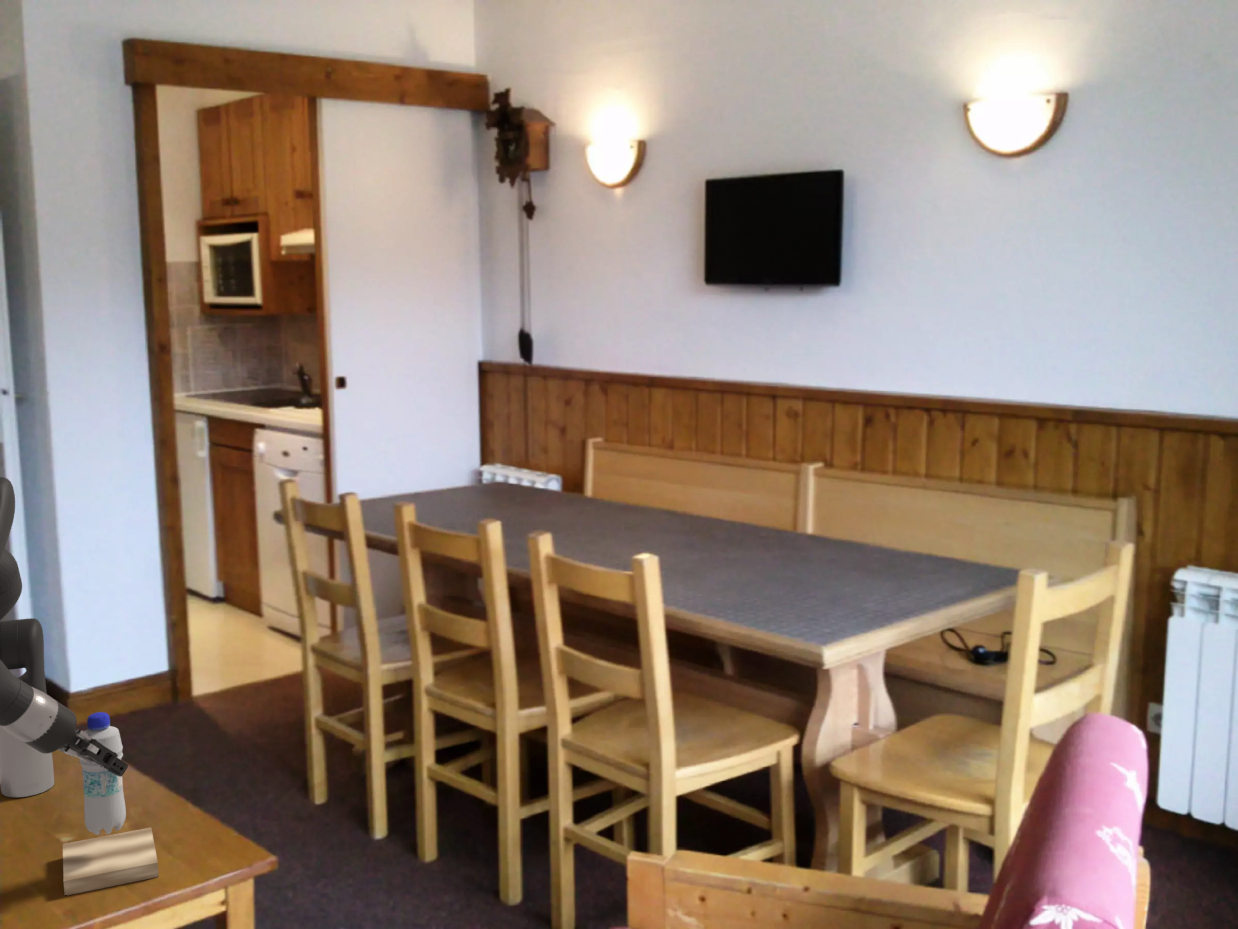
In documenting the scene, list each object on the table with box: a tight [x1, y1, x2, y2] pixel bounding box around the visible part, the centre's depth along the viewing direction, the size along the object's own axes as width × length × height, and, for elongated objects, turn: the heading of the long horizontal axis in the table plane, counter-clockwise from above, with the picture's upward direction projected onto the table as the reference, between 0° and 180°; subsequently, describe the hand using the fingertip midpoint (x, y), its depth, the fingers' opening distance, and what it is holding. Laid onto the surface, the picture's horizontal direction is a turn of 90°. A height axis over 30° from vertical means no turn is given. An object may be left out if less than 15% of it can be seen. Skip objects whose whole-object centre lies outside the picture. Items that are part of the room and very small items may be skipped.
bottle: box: [78, 711, 127, 836], centre depth 197 cm, size 7×7×20 cm
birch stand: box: [62, 827, 160, 896], centre depth 200 cm, size 14×14×2 cm
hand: (110, 765), depth 198 cm, fingers closed on bottle, 6 cm apart
